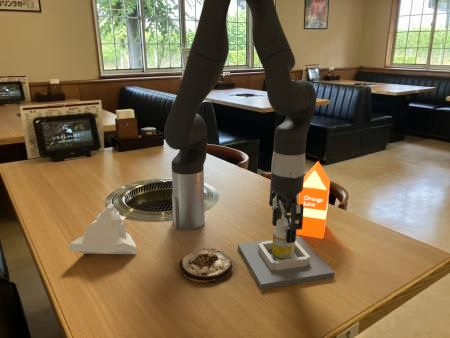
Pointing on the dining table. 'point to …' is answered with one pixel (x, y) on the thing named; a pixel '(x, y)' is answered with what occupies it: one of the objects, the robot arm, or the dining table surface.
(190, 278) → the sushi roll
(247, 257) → the socket board
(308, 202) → the orange juice
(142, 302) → the dining table surface
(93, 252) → the white jagged pyramid
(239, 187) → the dining table surface
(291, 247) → the supplement bottle
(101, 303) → the dining table surface
